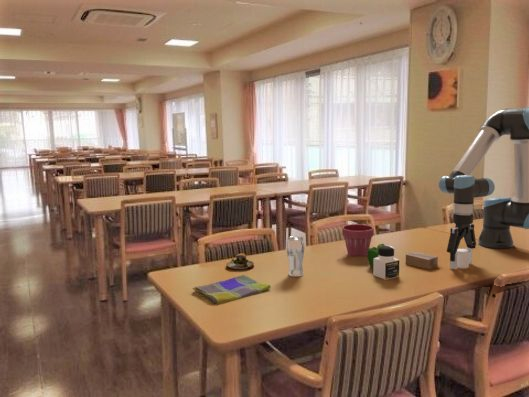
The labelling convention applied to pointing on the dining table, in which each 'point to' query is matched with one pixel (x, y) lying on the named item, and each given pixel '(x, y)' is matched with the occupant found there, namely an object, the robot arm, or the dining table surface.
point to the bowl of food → (240, 262)
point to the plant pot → (357, 239)
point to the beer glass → (295, 255)
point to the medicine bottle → (386, 263)
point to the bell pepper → (373, 254)
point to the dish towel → (231, 289)
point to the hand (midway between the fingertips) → (461, 265)
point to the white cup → (463, 257)
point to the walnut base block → (422, 260)
